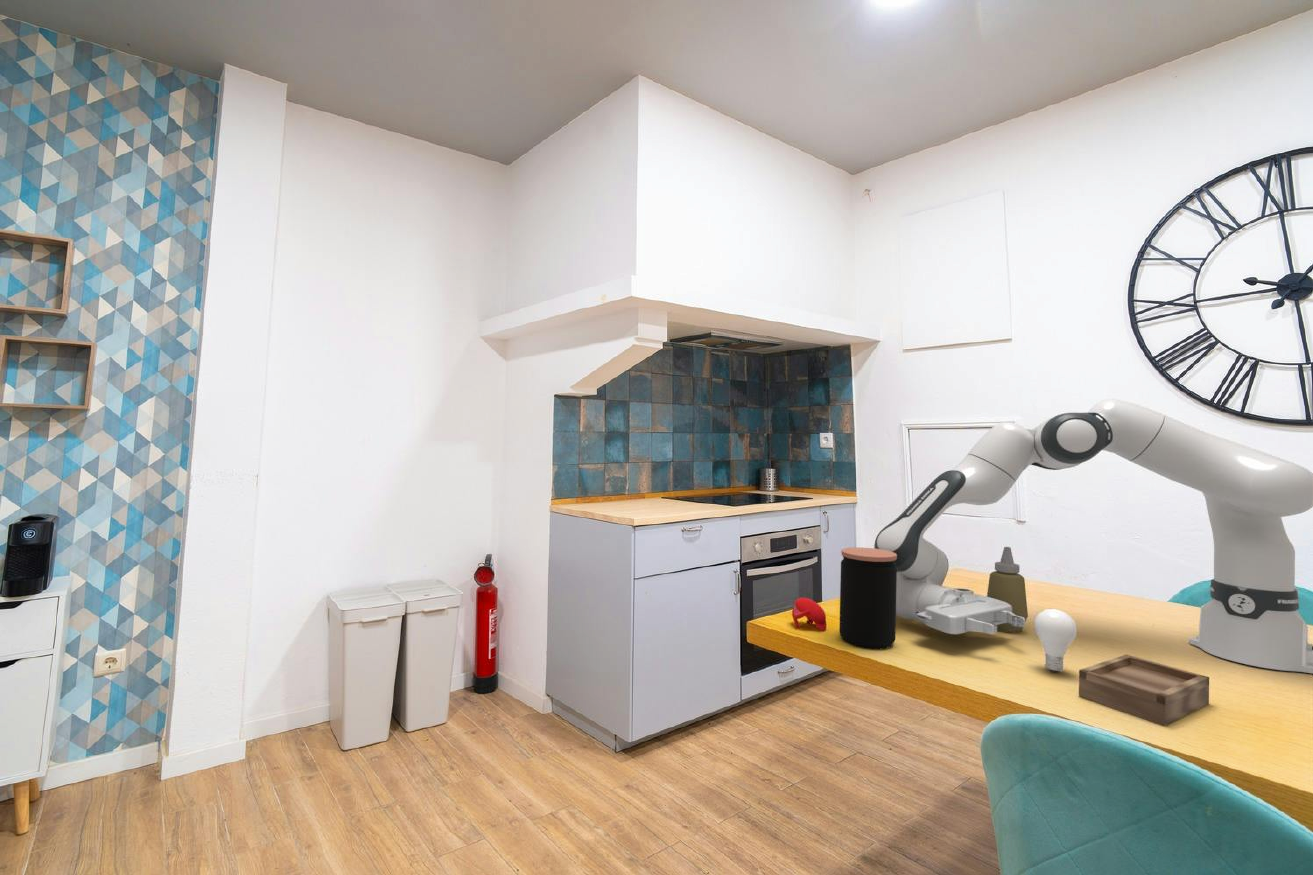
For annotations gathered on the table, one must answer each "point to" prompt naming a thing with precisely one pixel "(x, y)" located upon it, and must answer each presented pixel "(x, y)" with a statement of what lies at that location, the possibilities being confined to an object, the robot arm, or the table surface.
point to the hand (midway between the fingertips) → (1009, 626)
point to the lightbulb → (1055, 635)
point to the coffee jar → (868, 597)
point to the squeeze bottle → (1008, 589)
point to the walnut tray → (1144, 688)
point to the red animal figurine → (809, 613)
